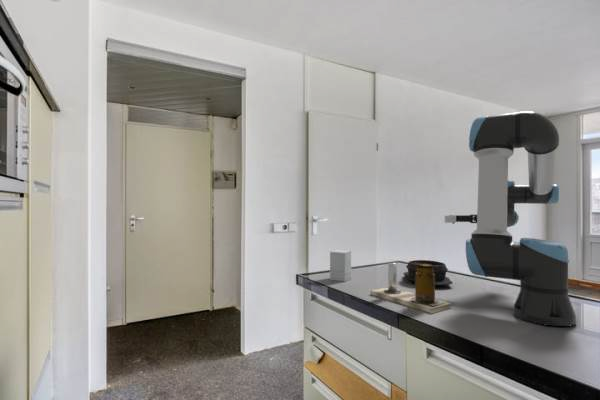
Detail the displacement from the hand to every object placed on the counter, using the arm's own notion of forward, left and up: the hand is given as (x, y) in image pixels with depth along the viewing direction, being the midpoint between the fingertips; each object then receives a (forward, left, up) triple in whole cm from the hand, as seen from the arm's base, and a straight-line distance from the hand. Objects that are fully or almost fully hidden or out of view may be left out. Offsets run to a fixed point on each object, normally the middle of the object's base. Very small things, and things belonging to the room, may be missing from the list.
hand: (462, 219), depth 126 cm
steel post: (+14, +22, -28) cm, 38 cm away
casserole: (+21, -8, -28) cm, 36 cm away
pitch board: (+7, +22, -28) cm, 36 cm away
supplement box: (+45, +20, -28) cm, 57 cm away
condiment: (-1, +22, -27) cm, 34 cm away
